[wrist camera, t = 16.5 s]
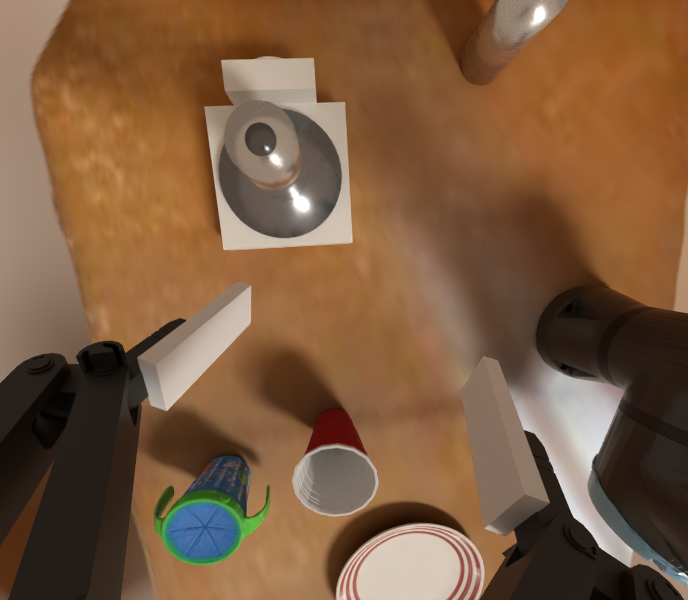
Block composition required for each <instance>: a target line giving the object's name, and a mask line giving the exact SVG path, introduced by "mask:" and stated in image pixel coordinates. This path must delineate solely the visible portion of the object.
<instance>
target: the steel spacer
mask: <svg viewBox="0 0 688 600" xmlns="http://www.w3.org/2000/svg"><path fill="white" fill-rule="evenodd" d="M567 2H568V0H495V2H494V3H493V5H492V6H491V8H490V9H489V11H488V12H487V14H486V15H485V17H484V18H483V20H482V21H481V23H480V24H479V26H478V27H477V29H476V30H475V31H474V33H473V34H472V36H471V37H470V39H469V40H468V42H467V43H466V45H465V46H464V48H463V50H462V53H461V57H460V67H461V71H462V73H463V75H464V77H465V78H466V79H467V80H468V81H469V82H470V83H472V84H475V85H486V84H488V83H490V82H492V81H493V80H494V79H495V78H496V77H497V76H498V75H499V74H500V73H501V72H502V71H503V70H504V69H505V68H506V67H507V66H508V65H509V64H510V62H511V61H512V60H513V59H514V58H515V57H516V56H517V55H518V54H519V53H520V52H521V51H522V50H523V49H524V48H525V47H526V46H527V45H528V44H529V43H530V42H531V41H532V40H533V39H534V38H535V37H536V36H537V35H538V34H539V33H540V32H541V31H542V30H543V29H544V27H545V26H546V25H547V24H548V23H549V22H550V21H551V20H552V19H553V18H554V17H555V16H556V15H557V14H558V13H559V12H560V11H561V10H562V9H563V8H564V6H565V5H566V3H567Z"/></svg>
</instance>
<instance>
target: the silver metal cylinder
mask: <svg viewBox="0 0 688 600" xmlns="http://www.w3.org/2000/svg"><path fill="white" fill-rule="evenodd" d="M224 142H225V147H226V150H227V153H228V155H229V157H230V158H231V160H232V161H233V163H234V164H235V165H236V166H237V167H238V168H239V169H240V170H241V171H242V172H243V173H244V174H245V175H246V176H247V177H248V178H249V179H250V180H251V181H252V182H253V183H254V184H255V185H256V186H257V187H258V188H259V189H260V190H261V191H263V192H264V193H265V194H266V195H267V196H268V197H269V198H271V199H273V200H276V201H280V202H285V201H290V200H293V199H294V198H296V197H297V196H299V194H300V193H301V192H302V191H303V189H304V186H305V183H306V171H305V167H304V163H303V159H302V155H301V151H300V147H299V143H298V139H297V135H296V131H295V128H294V125H293V123H292V121H291V119H290V118H289V117H288V115H287V114H286V113H285V112H284V111H283V110H282V109H281V108H280V107H278V106H276V105H275V104H273V103H270V102H267V101H262V100H254V101H249V102H246V103H243V104H242V105H240V106H238V107H237V108H236V109H235V110H234V111H233V112H232V113H231V115H230V116H229V118H228V120H227V123H226V126H225V131H224Z"/></svg>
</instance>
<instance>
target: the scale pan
mask: <svg viewBox="0 0 688 600" xmlns="http://www.w3.org/2000/svg"><path fill="white" fill-rule="evenodd" d="M282 110H283V111H284V112H285V113H286V114H287V115H288V117H289V118H290V119H291V121H292V123H293V125H294V128H295V131H296V135H297V139H298V143H299V147H300V151H301V155H302V159H303V163H304V167H305V171H306V183H305V186H304V189H303V191H302V192H301V193H300V194H299V196H297V197H296V198H294V199H293V200H290V201H285V202H280V201H276V200H273V199H271V198H269V197H268V196H267V195H266V194H265V193H264V192H263V191H261V190H260V189H259V188H258V187H257V186H256V185H255V184H254V183H253V182H252V181H251V180H250V179H249V178H248V177H247V176H246V175H245V174H244V173H243V172H242V171H241V170H240V169H239V168H238V167H237V166H236V165H235V164H234V163H233V161H232V160H231V158H230V157H229V155H228V153H227V150H226V147H225V143H224V145H223V148H222V151H221V154H220V159H219V180H220V185H221V189H222V192H223V195H224V197H225V200H226V202H227V204H228V205H229V207H230V208H231V210H232V211H233V212H234V214H235V215H236V216H237V217H238V218H239V219H240V220H241V221H242V222H243V223H244V224H246V225H247V226H248V227H250V228H251V229H253V230H255V231H256V232H259V233H261V234H264V235H267V236H271V237H275V238H295V237H299V236H303V235H305V234H307V233H310V232H312V231H313V230H315V229H316V228H318V227H319V226H320V225H322V224H323V223H324V222H325V221H326V220H327V218H328V217H329V216H330V214H331V213H332V211H333V209H334V208H335V206H336V203H337V201H338V198H339V194H340V190H341V183H342V171H341V164H340V160H339V156H338V153H337V151H336V148H335V146H334V144H333V142H332V141H331V139H330V138H329V136H328V135H327V133H326V132H325V131H324V130H323V129H322V128H321V127H320V126H319V125H318V124H317V123H315V122H314V121H313V120H311V119H310V118H308V117H307V116H304V115H302V114H300V113H298V112H295V111H292V110H286V109H282Z"/></svg>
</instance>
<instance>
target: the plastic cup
mask: <svg viewBox="0 0 688 600" xmlns="http://www.w3.org/2000/svg"><path fill="white" fill-rule="evenodd" d="M292 483H293V487H294V491H295V495H296V496H297V497H298V498H299V500H300V501H301V502H302V503H303V505H304V506H306V507H307V508H309V509H311V510H313V511H314V512H316V513H318V514H323V515H328V516H333V517H335V516H343V515H350V514H352V513H354V512H356V511H358V510H360V509H362V508H364V507H365V506H366V505H367V504H368V503H369V502H370V501H371V500H372V499H373V498H374V496H375V493H376V490H377V487H378V484H379V483H378V476H377V470H376V468H375V466H374V464H373V463H372V462H371V460H370V459H369V457H368V455H367V453H366V451H365V449H364V447H363V445H362V442H361V440H360V437H359V435H358V433H357V430H356V428H355V427H354V425H353V422H352V420H351V419H350V417H349V416H348V414H347V413H346V412H344V411H342V410H340V409H330V410H327V411H325V412H324V413H322V414H321V416H320V417H319V418H318V420H317V423H316V426H315V429H314V430H313V433H312V436H311V439H310V442H309V445H308V448H307V451H306V452H305V455H304V456H303V458H302V459H301V460H300V461H299V463H298V464H297V465H296V467H295V471H294V475H293V479H292Z"/></svg>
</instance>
